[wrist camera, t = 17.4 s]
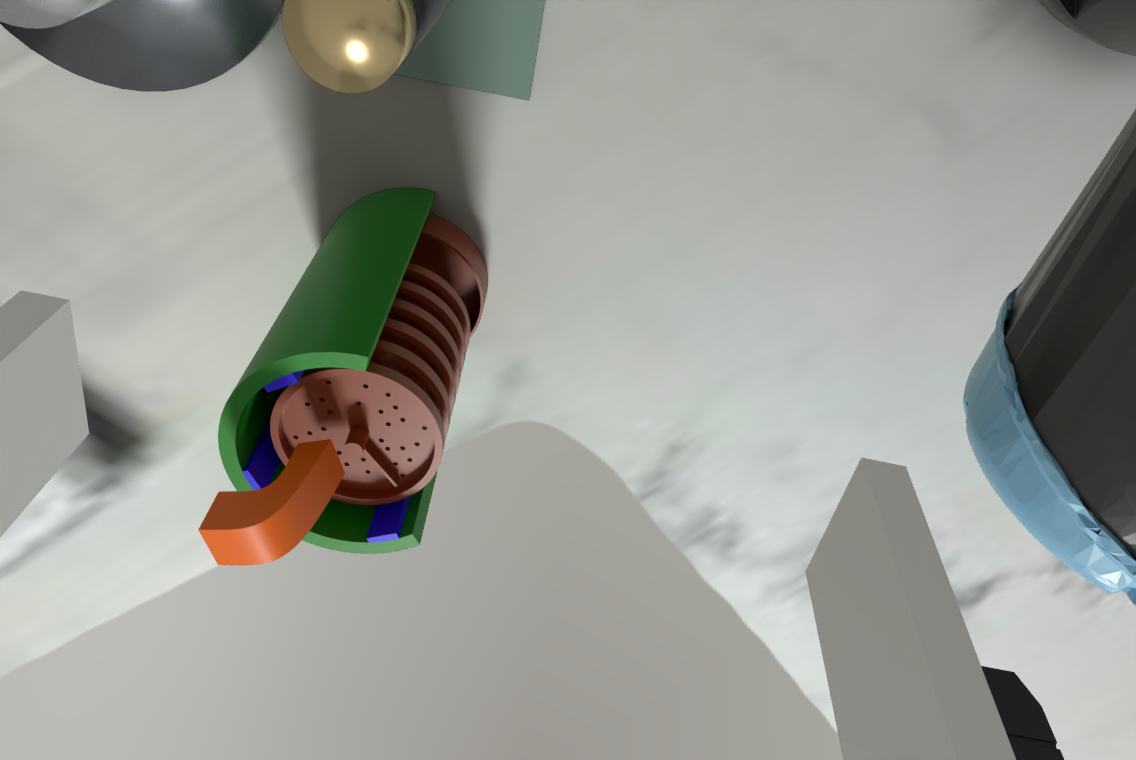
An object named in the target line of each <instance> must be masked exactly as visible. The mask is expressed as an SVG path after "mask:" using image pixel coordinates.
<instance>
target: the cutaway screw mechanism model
mask: <svg viewBox="0 0 1136 760" xmlns="http://www.w3.org/2000/svg"><path fill="white" fill-rule="evenodd" d="M434 194H435V192H433V191H429V190H424V189H417V188H396V189H389V190H384V191H380V192H376V193H373V194H371V195H368V196H366V197H364V198H362V199H360V200H359V201H357V202H355V203H354V204H352V205H351V206H350V207H349V208H347V209H346V210H345V211H344V212H343V213H342V214H341V215H340V216H339V218H338V219H337V220H336V222H335V223H334V225H333V226H332V228H331V229H330V231H329V233H328V234H327V236H326V238H325V239H324V241H323V243H322V244H321V246H320V248H319V249H318V251H317V253H316V254H315V256H314V258H313V259H312V261H311V263H310V264H309V266H308V268H307V269H306V271H305V273H304V274H303V276H302V278H301V279H300V281H299V283H298V284H297V286H296V288H295V289H294V291H293V293H292V294H291V296H290V298H289V299H288V301H287V303H286V304H285V306H284V308H283V309H282V311H281V313H280V314H279V316H278V318H277V319H276V321H275V322H274V324H273V326H272V327H271V329H270V331H269V332H268V334H267V336H266V337H265V339H264V341H263V342H262V344H261V346H260V347H259V349H258V351H257V352H256V354H255V356H254V357H253V359H252V361H251V362H250V364H249V366H248V367H247V369H246V371H245V372H244V374H243V376H242V377H241V379H240V381H239V382H238V384H237V386H236V387H235V389H234V391H233V392H232V394H231V396H230V397H229V399H228V401H227V403H226V405H225V407H224V409H223V412H222V415H221V418H220V423H219V431H218V442H219V450H220V455H221V459H222V462H223V465H224V468H225V470H226V472H227V474H228V477H229V478H230V480H231V482H232V484H233V485H234V487H235V488H236V490H237V491H232V492H218V494H217V496H216V498H215V500H214V502H213V504H212V505H211V507H210V509H209V511H208V513H207V515H206V517H205V518H204V520H203V522H202V524H201V526H200V528H199V532H200V533H201V535H202V537H203V539H204V541H205V542H206V544H207V546H208V548H209V549H210V551H211V553H212V555H213V557H214V558H215V560H216V562H217V564H218V565H257V564H264V563H268V562H271V561H274V560H276V559H279V558H280V557H282V556H284V555H285V554H287V553H288V552H289V551H291V550H292V549H293V548H294V547H295V546H296V545H297V544H298V543H299V542H300V541H301V540H303V541H305V542H308V543H311V544H314V545H317V546H320V547H323V548H327V549H331V550H337V551H342V552H349V553H363V554H376V553H388V552H395V551H400V550H404V549H408V548H412V547H415V546H418V545H420V541H421V537H422V533H423V529H424V524H425V521H426V516H427V512H428V508H429V503H430V499H431V495H432V491H433V487H434V483H435V479H436V474H437V470H438V467H439V465H440V462H441V458H442V453H443V449H444V444H445V439H446V436H447V432H448V428H449V424H450V417H451V414H452V411H453V407H454V403H455V398H456V393H457V390H458V386H459V381H460V377H461V372H462V369H463V365H464V360H465V355H466V351H467V348H468V343H469V339H470V337H471V336H472V335H473V333H474V332H475V330H476V328H477V326H478V324H479V322H480V319H481V316H482V312H483V307H484V303H485V298H486V294H487V287H488V275H487V269H486V265H485V262H484V260H483V257H482V255H481V253H480V251H479V249H478V248H477V246H476V245H475V243H474V242H473V241H472V240H471V239H470V237H469V236H468V235H467V234H466V233H465V232H463V231H462V230H461V229H460V228H458V227H457V226H456V225H454V224H453V223H451V222H449V221H447V220H445V219H443V218H441V217H438V216H436V215H433V214H429V211H430V209H431V206H432V204H433V199H434Z"/></svg>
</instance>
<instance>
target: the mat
mask: <svg viewBox="0 0 1136 760" xmlns="http://www.w3.org/2000/svg"><path fill="white" fill-rule="evenodd" d="M544 5H545V0H455V1H454V2H453V3H452V4H451V6H450V7H449V8H448V9H447V10H446V12H445V13H444V14H443V15H442V17H441V18H440V19H439V20H438V22H437V23H436V24H435V25H434V26H433V28H432V29H431V30H430V31H429V33H428V34H427V35H426V36H425V38H424V39H423V40H422V41H421V42H420V44H419V45H418V46H417V47H416V49H415V50H414V51H413V52H412V54H411V55H410V56H409V57H408V58H407V60H406V61H405V62H404V63H403V64H402V65H401V66H399V67H398V68H397V69H396V71H395V72H394V73H393V74H397V75H402V76H407V77H412V78H417V79H422V80H427V81H432V82H437V83H442V84H448V85H453V86H458V87H463V88H468V89H473V90H478V91H483V92H488V93H493V94H498V95H503V96H508V97H513V98H518V99H523V100H528V101H529V99H530V93H531V87H532V81H533V74H534V68H535V62H536V55H537V49H538V43H539V37H540V30H541V24H542V18H543V11H544Z"/></svg>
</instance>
